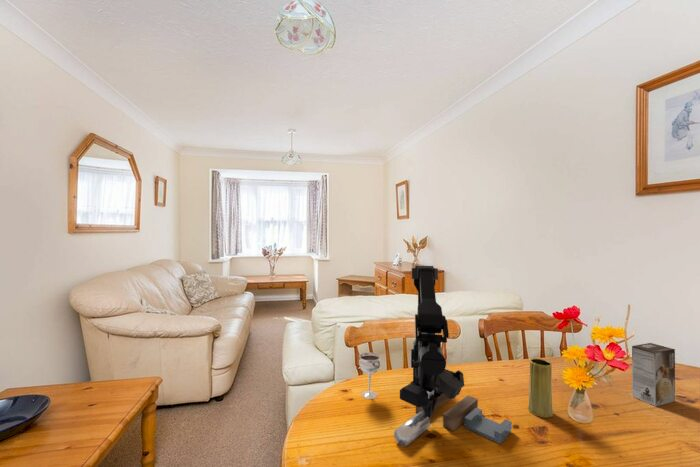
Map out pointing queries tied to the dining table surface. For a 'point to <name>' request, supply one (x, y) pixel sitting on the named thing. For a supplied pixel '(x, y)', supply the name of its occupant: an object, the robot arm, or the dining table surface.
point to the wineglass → (369, 370)
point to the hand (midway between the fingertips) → (429, 417)
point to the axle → (412, 429)
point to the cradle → (487, 426)
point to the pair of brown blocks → (454, 411)
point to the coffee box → (653, 373)
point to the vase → (540, 388)
